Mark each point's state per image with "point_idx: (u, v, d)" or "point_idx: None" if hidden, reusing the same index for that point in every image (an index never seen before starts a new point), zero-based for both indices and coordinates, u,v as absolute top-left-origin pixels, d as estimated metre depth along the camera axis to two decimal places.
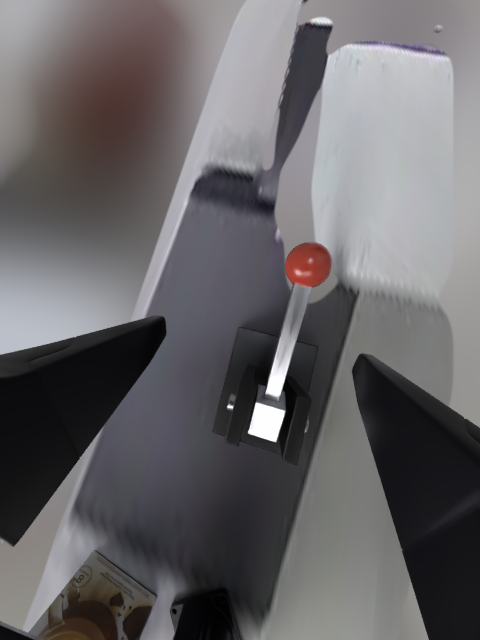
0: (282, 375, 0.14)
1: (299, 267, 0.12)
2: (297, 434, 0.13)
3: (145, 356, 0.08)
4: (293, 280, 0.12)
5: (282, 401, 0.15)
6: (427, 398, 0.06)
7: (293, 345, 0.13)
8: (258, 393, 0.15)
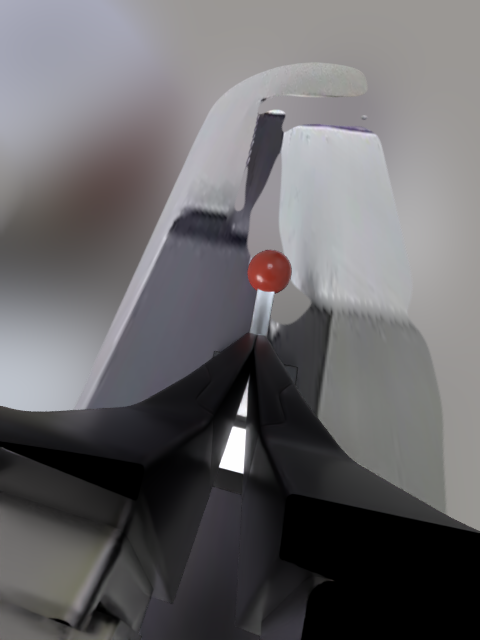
0: None
1: (259, 271, 0.12)
2: None
3: (247, 378, 0.08)
4: (255, 286, 0.12)
5: None
6: (275, 367, 0.06)
7: None
8: None
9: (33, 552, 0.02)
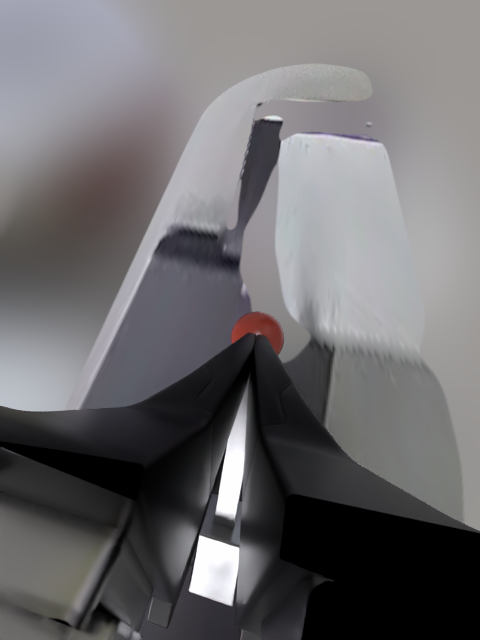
0: (237, 486, 0.10)
1: None
2: None
3: (247, 378, 0.08)
4: None
5: (240, 526, 0.10)
6: (275, 367, 0.06)
7: None
8: (207, 513, 0.11)
9: (33, 552, 0.02)
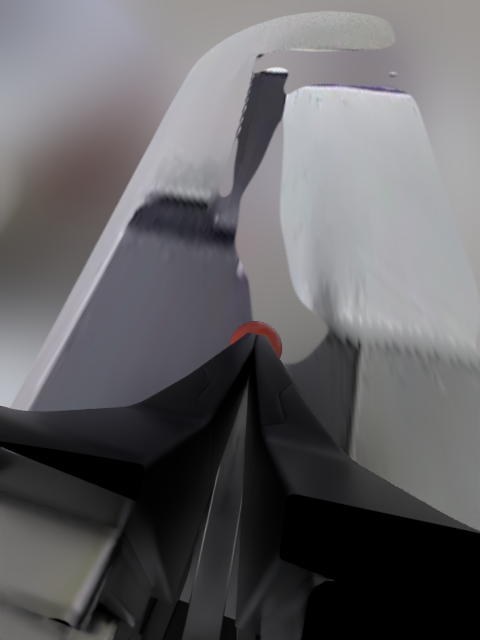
0: (227, 550, 0.07)
1: None
2: None
3: (247, 378, 0.08)
4: None
5: None
6: (275, 367, 0.06)
7: None
8: (169, 629, 0.06)
9: (33, 552, 0.02)
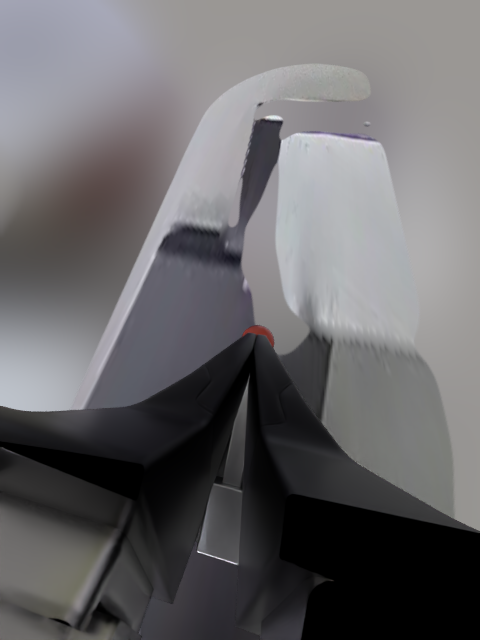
0: (243, 445, 0.13)
1: None
2: None
3: (247, 378, 0.08)
4: None
5: None
6: (275, 367, 0.06)
7: None
8: (215, 479, 0.12)
9: (33, 552, 0.02)
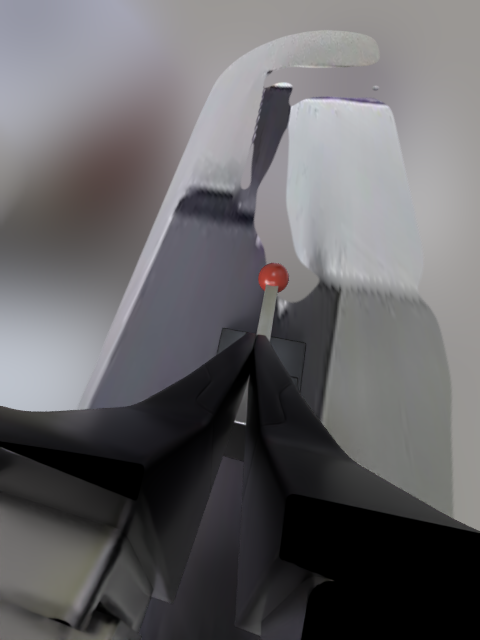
0: None
1: (267, 270, 0.17)
2: None
3: (247, 378, 0.08)
4: (264, 282, 0.18)
5: None
6: (275, 367, 0.06)
7: (270, 325, 0.16)
8: None
9: (33, 552, 0.02)
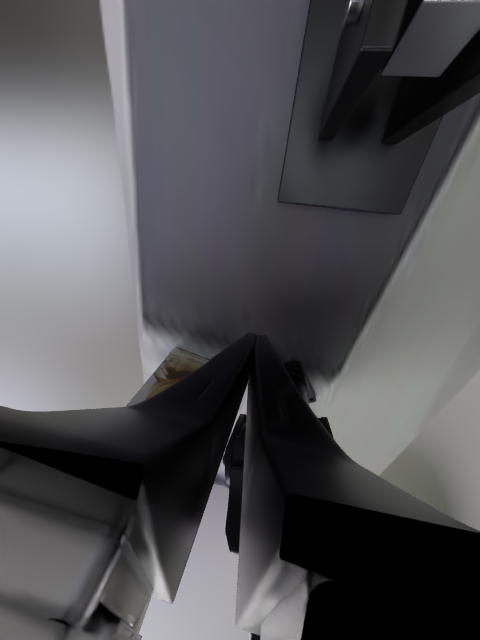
0: None
1: None
2: None
3: (247, 378, 0.08)
4: None
5: None
6: (275, 367, 0.06)
7: None
8: None
9: (33, 552, 0.02)
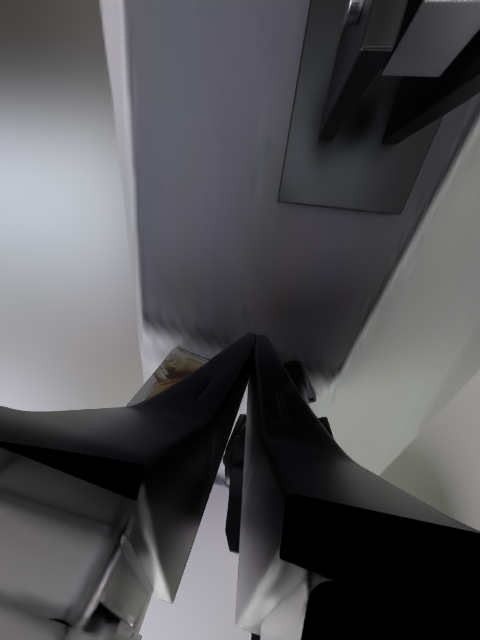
0: None
1: None
2: None
3: (247, 378, 0.08)
4: None
5: None
6: (275, 367, 0.06)
7: None
8: None
9: (34, 552, 0.02)
